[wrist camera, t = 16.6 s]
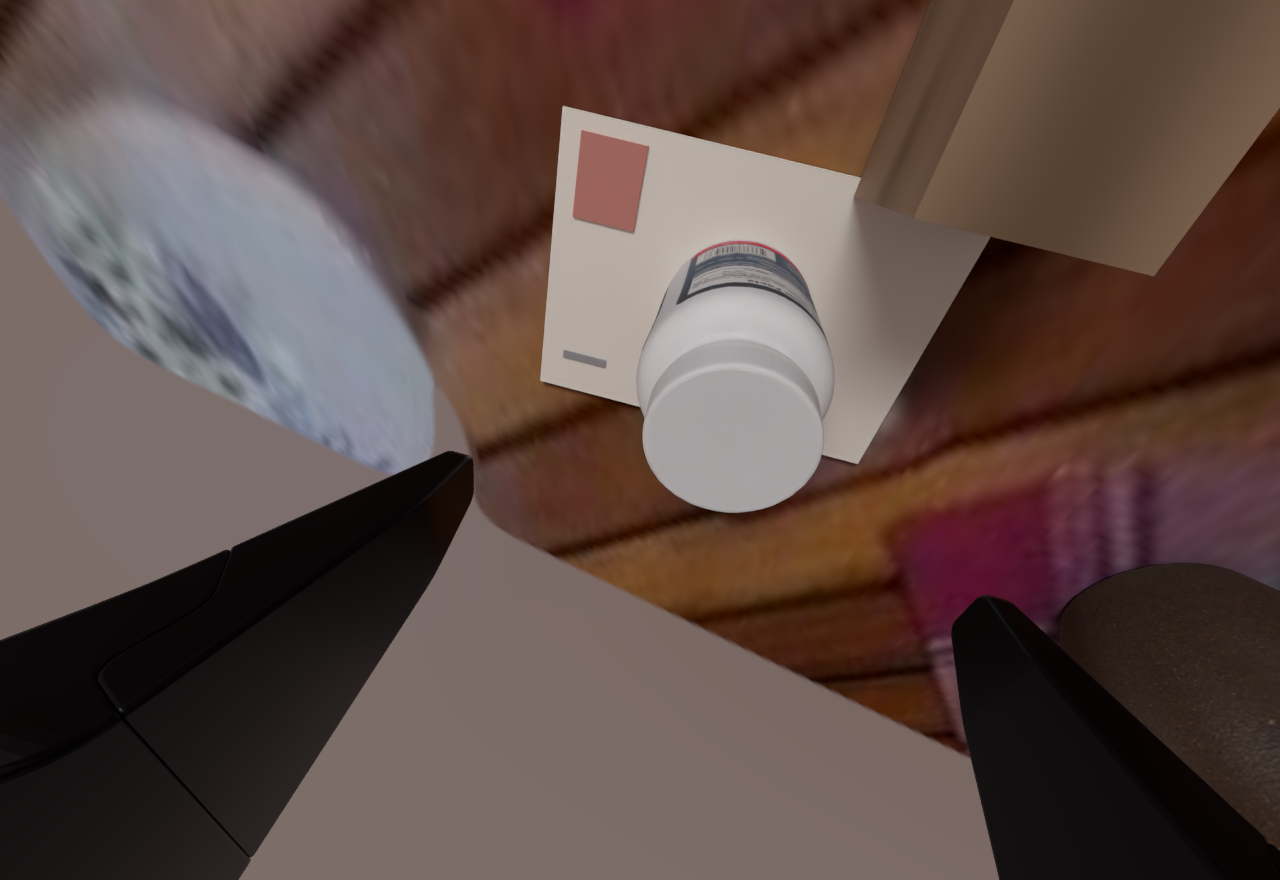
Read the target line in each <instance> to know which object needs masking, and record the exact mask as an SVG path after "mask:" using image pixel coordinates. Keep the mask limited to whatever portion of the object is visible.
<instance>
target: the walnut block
mask: <svg viewBox="0 0 1280 880" xmlns="http://www.w3.org/2000/svg"><path fill="white" fill-rule="evenodd" d="M1279 108H1280V0H931V1H930V4H929V6H928V9H927V11H926V14H925V17H924V19H923V22H922V24H921V27H920V29H919V32H918V34H917V37H916V39H915V42H914V44H913V47H912V50H911V52H910V55H909V57H908V60H907V62H906V65H905V67H904V70H903V72H902V75H901V78H900V80H899V83H898V85H897V88H896V90H895V93H894V95H893V98H892V100H891V103H890V106H889V108H888V111H887V113H886V116H885V118H884V121H883V123H882V126H881V128H880V131H879V133H878V136H877V139H876V141H875V144H874V146H873V149H872V151H871V154H870V156H869V159H868V161H867V164H866V167H865V169H864V172H863V174H862V177H861V179H860V182H859V184H858V187H857V189H856V192H855V194H854V197H857V198H859V199H862V200H865V201H868V202H871V203H873V204H876V205H879V206H882V207H885V208H887V209H890V210H893V211H896V212H898V213H901V214H904V215H907V216H910V217H912V218H916V219H920V220H924V221H928V222H932V223H937V224H941V225H945V226H949V227H953V228H957V229H961V230H965V231H969V232H974V233H978V234H982V235H986V236H990V237H994V238H998V239H1002V240H1006V241H1011V242H1015V243H1019V244H1023V245H1027V246H1031V247H1035V248H1039V249H1043V250H1048V251H1052V252H1056V253H1060V254H1064V255H1068V256H1072V257H1076V258H1081V259H1085V260H1089V261H1093V262H1097V263H1101V264H1105V265H1109V266H1113V267H1118V268H1122V269H1126V270H1130V271H1134V272H1138V273H1142V274H1146V275H1150V276H1154V275H1155V274H1156V273H1157V271H1158V270H1159V269H1160V267H1161V266H1162V265H1163V263H1164V262H1165V261H1166V259H1167V258H1168V257H1169V255H1170V254H1171V253H1172V251H1173V250H1174V249H1175V247H1176V246H1177V245H1178V243H1179V242H1180V241H1181V239H1182V238H1183V237H1184V235H1185V234H1186V233H1187V231H1188V230H1189V229H1190V227H1191V226H1192V225H1193V223H1194V222H1195V220H1196V219H1197V218H1198V216H1199V215H1200V214H1201V212H1202V211H1203V210H1204V208H1205V207H1206V206H1207V204H1208V203H1209V202H1210V200H1211V199H1212V198H1213V196H1214V195H1215V194H1216V192H1217V191H1218V190H1219V188H1220V187H1221V186H1222V184H1223V183H1224V182H1225V180H1226V179H1227V178H1228V176H1229V175H1230V174H1231V172H1232V171H1233V170H1234V168H1235V167H1236V166H1237V164H1238V163H1239V161H1240V160H1241V159H1242V157H1243V156H1244V155H1245V153H1246V152H1247V151H1248V149H1249V148H1250V147H1251V145H1252V144H1253V143H1254V141H1255V140H1256V139H1257V137H1258V136H1259V135H1260V133H1261V132H1262V131H1263V129H1264V128H1265V127H1266V125H1267V124H1268V123H1269V121H1270V120H1271V119H1272V117H1273V116H1274V115H1275V113H1276V112H1277V111H1278V109H1279Z"/></svg>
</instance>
